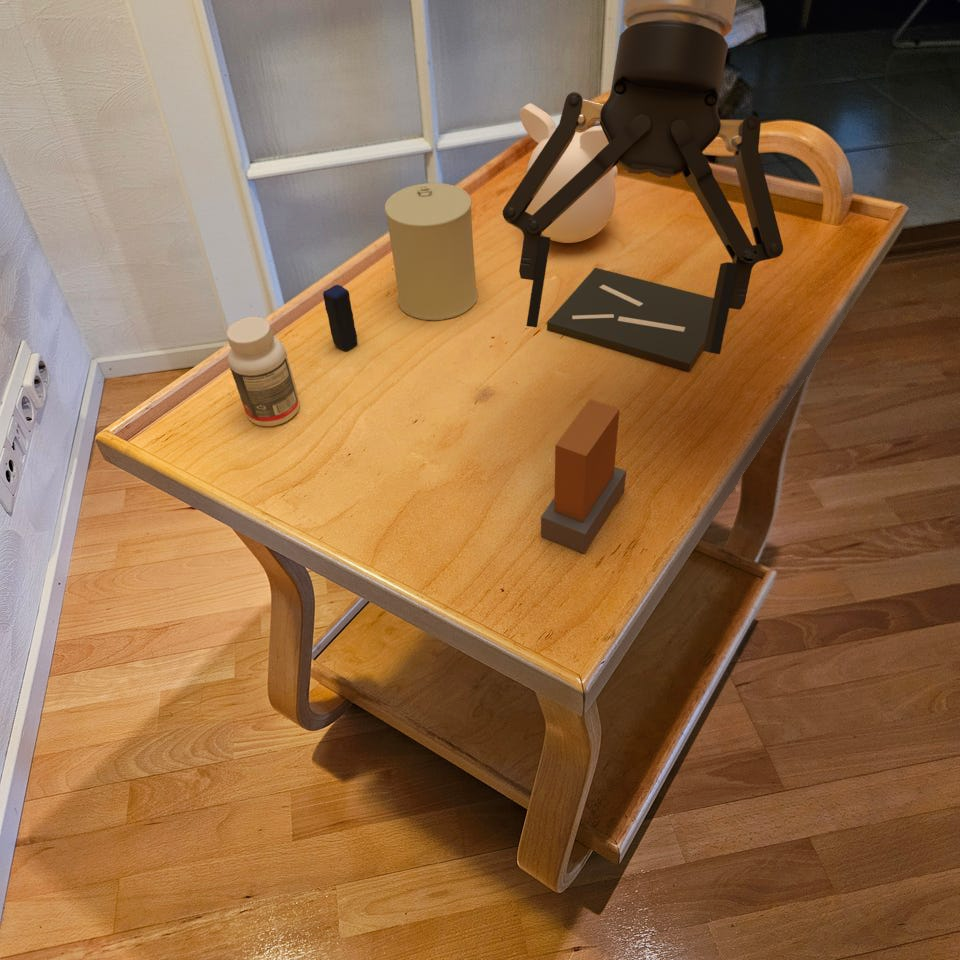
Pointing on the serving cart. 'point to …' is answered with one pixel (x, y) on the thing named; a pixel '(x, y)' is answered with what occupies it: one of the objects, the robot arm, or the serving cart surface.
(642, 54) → the robot arm
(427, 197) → the can
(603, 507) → the chalk eraser
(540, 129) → the piggy bank
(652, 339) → the slate board
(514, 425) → the serving cart surface
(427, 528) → the serving cart surface
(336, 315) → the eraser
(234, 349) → the pill bottle
